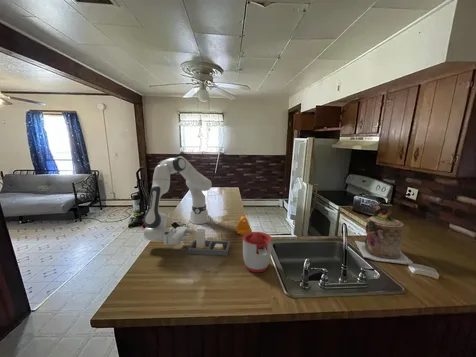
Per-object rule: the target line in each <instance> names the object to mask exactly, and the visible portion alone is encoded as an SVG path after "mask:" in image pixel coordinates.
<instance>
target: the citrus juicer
mask: <svg viewBox="0 0 476 357" xmlns="http://www.w3.org/2000/svg"><path fill="white" fill-rule="evenodd" d="M272 240H273V238H272V236H271V235H270V234H268V233H265V232H262V231H261V232H260V231H252V232H250V233H246V234H245V235H242V258H243V262H244V265H245V267H246V269H247V270H248V271H250V272H251V273H263V272H265V271H266V270H267V269H268V267H269V266H270V265H269V264H270V260H271V255H272Z"/></svg>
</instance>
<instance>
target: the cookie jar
mask: <svg viewBox="0 0 476 357" xmlns="http://www.w3.org/2000/svg"><path fill="white" fill-rule="evenodd" d="M393 207H394V205H392V204H384V203H381V204H379V205H375V206H372V210H373V211H372V212H375V213H374V215H373V216H370V217H368V218H366V221H365V222H366V225H365V234H366V238H365V239H364V241H358V240H354V242H355V244H356V246H357V249H358V250H359V252H360V254H361V255H362V256H363V258H366V259H369V260H372V261H375V262H383V263H393V264H401V265H408V266H410V265H409V264H411V265H412V264H414V261H412V260H411V259H410V258H409V257H408V256H407V255H405V253H403V252H402V246H403V240H402V239H403V238H402V236H403V232H402V229H403V228H404V223H403V222H402V221H399V220H397V219H395V218H393V217H392V216H391V214H392V211H393Z"/></svg>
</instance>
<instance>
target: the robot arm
mask: <svg viewBox="0 0 476 357" xmlns="http://www.w3.org/2000/svg"><path fill="white" fill-rule="evenodd" d="M177 173H179V174H180V175H181V176H182V177H183V178H184V180H185V185H186V187H187V188H188V190H189V192H190V194H191V199H192V200H191V202H192V205H191V211H190V216H189V217H190V218H189V219H188V222H189V223H190V222H191V223H192V224H194V225H202V224H206V223H210V222H211V217H212V216H211V215H209V211H208V209H207V203H206V195H205V194H204V192H206V191H207V192H208V191H210V190H211V188H212V181H211V179H209V178H207V177H206V176H204V174H202V173H200V172H199V171H198V170H197V169H196V168H195V167H194V166H193V165H192V164H191V163H190V162H189V161H188V160H187V158H185V157H184V156H175V157H170V158H166V159H162V160H160V161H159V162H158V163H157V165H156V166H155V167H154V172H153V175H152V176H153V177H152V185H151V189H150V193H149V198H148V204H147V209H146V211H145V214H144V216H143V224H144V226H145V228H144V230H143V236H144V237H143V238H144V239H146V240H147V241H152V242H160V241H161V242H163V245H164V246H168V245H171V246H172V245H173V246H174V245H175V246H176V245H179V244H180V243H181V242H184V241H189V239H190V237H189V236H186V235H187V234H190V235H192V234H194V230H191V229H189V226H183V225H182V226H177V227H174V226H170V227H169V226H167V225H168V222H169V217H168V215H167V214H166V213H164V212H161V211H159V207H160V202H161V201H160V200H161V197H162V196H163V195H164V194H166V193H167V192H169V191H170V190H169V189H170V186H171V174H172V175H173V174H177Z"/></svg>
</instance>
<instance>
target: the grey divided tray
mask: <svg viewBox="0 0 476 357" xmlns="http://www.w3.org/2000/svg"><path fill="white" fill-rule="evenodd" d="M230 242H231V241H230V240H211V239H210V240H209V239H207V240H206V239H205V245H206V246H207V247H206V249H196V239H194V240H192V242H191V244H190V245H189V246H188V248H187V254H188V255H189V254H190V255H191V254H192V255H206V256H208V255H210V256H226V257H227V256H228V253H229V250H230V246H231V244H230ZM212 247H213V249H212ZM224 247H226V248H224Z"/></svg>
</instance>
